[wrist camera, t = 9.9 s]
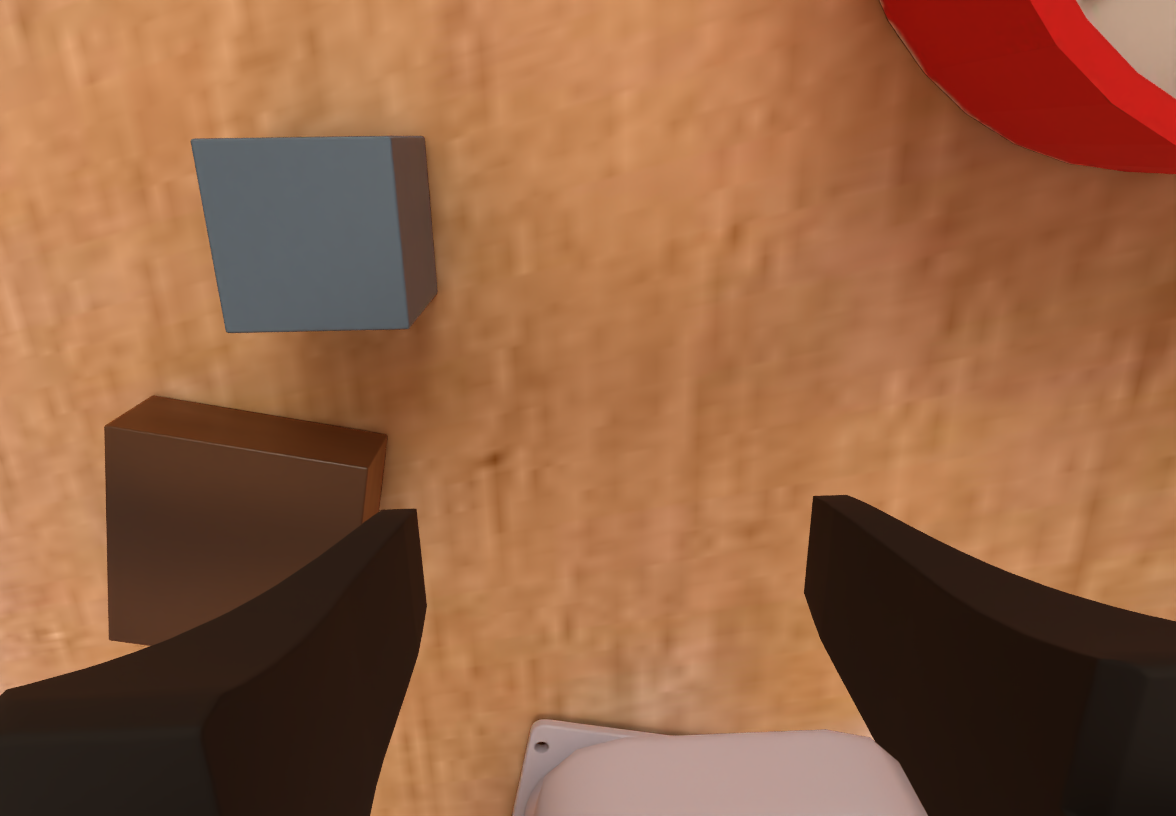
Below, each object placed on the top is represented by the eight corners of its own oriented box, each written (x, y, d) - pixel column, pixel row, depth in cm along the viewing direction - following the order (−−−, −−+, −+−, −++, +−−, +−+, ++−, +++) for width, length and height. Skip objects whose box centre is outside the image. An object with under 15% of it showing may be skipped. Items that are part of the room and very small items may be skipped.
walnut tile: (366, 622, 26) (346, 672, 23) (151, 592, 25) (108, 640, 23) (388, 434, 24) (368, 468, 21) (152, 394, 23) (103, 425, 20)
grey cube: (437, 293, 22) (409, 329, 18) (288, 296, 22) (225, 333, 18) (424, 135, 21) (390, 135, 16) (263, 138, 20) (188, 138, 16)
